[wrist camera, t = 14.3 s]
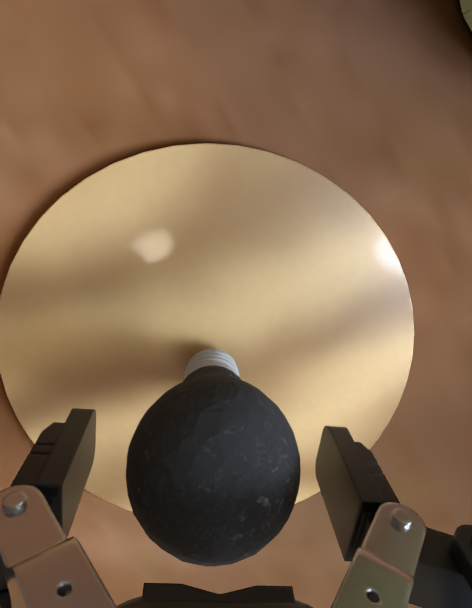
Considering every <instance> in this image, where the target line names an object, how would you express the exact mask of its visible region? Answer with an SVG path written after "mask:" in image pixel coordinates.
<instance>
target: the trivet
mask: <svg viewBox="0 0 472 608" xmlns="http://www.w3.org/2000/svg"><path fill="white" fill-rule="evenodd" d="M413 342H414V321H413V307H412V303H411V298H410V293H409V288H408V284H407V281H406V278H405V275H404V273H403V270H402V267H401V264H400V262H399V259H398V257H397V255H396V254H395V252H394V250H393V248H392V246H391V244H390V243H389V241H388V239H387V237H386V235H385V234H384V233H383V231H382V230H381V229H380V228H379V226H378V225H377V224H376V222H375V221H374V220H373V218H372V217H371V216H370V214H369V213H368V212H367V211H366V210H365V209H364V208H363V207H362V206H361V205H360V204H359V203H358V202H357V201H356V200H355V199H354V198H353V197H352V196H351V195H350V194H348V193H347V192H346V191H344V190H343V189H342V188H340V187H339V186H338V185H336V184H335V183H333V182H332V181H331V180H329V179H328V178H327V177H325V176H323V175H322V174H320V173H318V172H316V171H314V170H312V169H310V168H308V167H307V166H305V165H303V164H301V163H299V162H296V161H294V160H291V159H288V158H285V157H283V156H280V155H277V154H274V153H272V152H269V151H264V150H259V149H254V148H250V147H245V146H240V145H229V144H214V143H199V144H185V145H173V146H169V147H164V148H159V149H155V150H150V151H145V152H142V153H139V154H136V155H134V156H131V157H128V158H125V159H123V160H120V161H117V162H115V163H112V164H110V165H109V166H107V167H105V168H103V169H101V170H99V171H97V172H96V173H94V174H92V175H90V176H88V177H86V178H85V179H84V180H82V181H81V182H80V183H78V184H77V185H75V186H74V187H73V188H71V189H70V190H69V191H67V192H66V193H65V194H63V195H62V196H61V197H60V198H59V199H58V200H57V201H56V202H55V203H54V204H53V205H52V206H51V207H50V208H49V209H48V210H47V211H46V212H45V213H44V214H43V215H42V216H41V217H40V218H39V220H38V221H37V222H36V224H35V225H34V226H33V228H32V229H31V231H30V232H29V233H28V235H27V236H26V237H25V239H24V240H23V242H22V244H21V246H20V248H19V249H18V251H17V253H16V255H15V257H14V259H13V261H12V263H11V265H10V267H9V270H8V273H7V276H6V279H5V282H4V285H3V288H2V291H1V296H0V374H1V377H2V381H3V384H4V388H5V391H6V395H7V397H8V399H9V401H10V404H11V406H12V408H13V410H14V413H15V415H16V417H17V419H18V420H19V422H20V424H21V425H22V427H23V428H24V430H25V432H26V433H27V435H28V436H29V438H30V439H31V440H32V442H33V443H34V444H35V442H36V441H37V439H38V437H39V435H40V434H41V432H42V431H43V430H44V429H46V428H47V427H48V426H49V425H51V424H52V423H53V422H60V423H65V421H66V420H67V418H68V416H69V414H70V412H71V410H72V408H80V409H95V410H96V445H95V456H94V461H93V465H92V468H91V471H90V474H89V477H88V480H87V482H86V485H85V488H84V489H85V490H87V491H88V492H90V493H92V494H94V495H95V496H97V497H99V498H100V499H102V500H105V501H107V502H109V503H111V504H114V505H116V506H118V507H121V508H123V509H126V510H129V511H132V507H131V504H130V501H129V498H128V492H127V484H126V463H127V453H128V448H129V445H130V442H131V439H132V437H133V435H134V432H135V430H136V428H137V426H138V424H139V422H140V420H141V419H142V417H143V416H144V414H145V413H146V411H147V410H148V409H149V408H150V407H151V406H152V405H153V404H154V403H155V402H156V401H157V400H158V399H159V398H160V397H161V396H162V395H163V394H164V393H165V392H166V391H168V390H169V389H171V388H173V387H174V386H176V385H177V384H179V383H182V382H183V381H184V376H185V370H186V367H187V364H188V363H189V361H190V359H191V358H192V357H193V356H194V355H195V354H196V353H198V352H200V351H202V350H205V349H219V350H223V351H224V352H226V353H228V354H229V355H230V356H231V357H232V358H233V359H234V360H235V363H236V365H237V368H238V371H239V375H240V379H241V380H242V381H245V382H248V383H249V384H251V385H253V386H255V387H256V388H258V389H259V390H260V391H262V392H263V393H264V394H265V395H266V396H267V397H269V398H270V399H271V400H272V401H273V402H274V403H275V404H276V405H277V406H278V407H279V408H280V410H281V411H282V413H283V414H284V415H285V417H286V419H287V421H288V423H289V424H290V426H291V428H292V430H293V432H294V435H295V439H296V442H297V446H298V450H299V454H300V469H301V472H300V475H301V476H300V484H299V492H298V495H297V498H296V502H295V503H298V502H300V501H302V500H304V499H306V498H308V497H310V496H312V495H313V494H315V493H317V492H319V491H320V488H319V485H318V482H317V479H316V474H315V462H316V457H317V453H318V449H319V444H320V440H321V436H322V431H323V428H324V427H325V426H339V427H347V429H348V430H349V432H350V434H351V436H352V438H353V440H354V442H361V443H362V444H363V445H364V446H365V447H366V448H367V449H370V448H371V447H372V445H373V444H374V443H375V442H376V440H377V439H378V438H379V436H380V435H381V433H382V432H383V430H384V429H385V427H386V426H387V424H388V423H389V421H390V419H391V417H392V415H393V413H394V411H395V410H396V408H397V406H398V404H399V402H400V399H401V396H402V393H403V391H404V388H405V385H406V382H407V379H408V375H409V370H410V366H411V361H412V355H413ZM132 512H133V511H132Z"/></svg>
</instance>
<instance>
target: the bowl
mask: <svg viewBox="0 0 472 608" xmlns="http://www.w3.org/2000/svg"><path fill="white" fill-rule="evenodd" d="M460 5H461V10H462V13H464V14H463V17H464V19H465V20H466V22H467V24H468V26H469V28H470V29H471V31H472V0H460Z"/></svg>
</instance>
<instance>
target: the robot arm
mask: <svg viewBox="0 0 472 608" xmlns="http://www.w3.org/2000/svg"><path fill="white" fill-rule="evenodd" d="M95 445H96V410H95V409H80V408H72V410H71V412H70V414H69V416H68V418H67V420H66V421H65V423H60V422H53V423H52V424H51V425H49V426H48V427H47V428H46V429H44V430H43V431H42V432H41V434H40V435H39V437H38V439H37V441H36V442H35V445H34V446H33V448H32V449H31V451H30V454H29V455H28V456H27V458H26V460H25V462H24V463H23V465H22V467H21V469H20V470H19V472H18V474H17V476H16V477H15V479H14V481H13V482H12V484H11V486H10V487H8V488H6V489H4V490H2V491H0V608H313V607H311V606H309V605H307V604H304V603H302V602H300V601H297V600H295V599H294V594H293V589H292V586H253V587H249V588H245V589H241V590H237V591H233V592H228V593H224V594H216V593H212V592H209V591H205V590H202V589H198V588H195V587H191V586H188V585H184V584H169V583H144V587H143V595H142V596H141V597H137V598H134V599H131V600H128V601H126V602H124V603H122V604H120V605H118V606H116V605H115V603H114V601H113V600H112V598H111V596H110V594H109V593H108V591H107V589H106V587H105V586H104V584H103V582H102V580H101V579H100V577H99V575H98V574H97V572H96V570H95V568H94V567H93V565H92V563H91V561H90V560H89V558H88V556H87V554H86V553H85V551H84V549H83V547H82V546H81V544H80V542H79V541H78V539H77V538H76V537H71V538H69V539H67V537H68V534H69V531H70V528H71V525H72V522H73V519H74V517H75V514H76V511H77V508H78V505H79V502H80V499H81V497H82V494H83V491H84V488H85V485H86V482H87V480H88V477H89V474H90V471H91V468H92V465H93V461H94V456H95ZM315 474H316V479H317V482H318V485H319V488H320V491H321V494H322V497H323V500H324V503H325V505H326V508H327V511H328V514H329V517H330V520H331V523H332V526H333V529H334V532H335V534H336V537H337V540H338V543H339V546H340V549H341V552H342V555H343V558H344V561H352V562H351V564H350V566H349V568H348V571H347V573H346V575H345V577H344V579H343V581H342V584H341V586H340V588H339V590H338V592H337V595H336V597H335V599H334V601H333V603H332V606H331V608H407V605H408V603H411V604H414V605H416V606H419V607H422V608H472V525H461V526H459V527H458V528H457V529H456V531H455V534H454V536H453V535H449V534H446V533H443V532H439V531H436V530H433V529H430V528H427V527H426V526H425V523H424V522H423V520H422V519H421V517H420V516H419V515H418V514H417V513H416V512H415V511H413V510H412V509H410V508H409V507H407V506H405V505H402V504H400V502H399V501H398V499H397V497H396V495H395V493H394V492H393V490H392V488H391V486H390V484H389V483H388V481H387V479H386V477H385V475H384V474H383V472H382V470H381V468H380V466H379V465H378V463H377V461H376V459H375V458H374V456H373V454H372V452H371V451H370V450H369V449H367V448H366V447H365V446H364V445H363V444H362V443H361V442H354V440H353V438H352V436H351V434H350V432H349V430H348V429H347V427H339V426H325V427H324V428H323V431H322V436H321V440H320V444H319V449H318V453H317V457H316V462H315Z"/></svg>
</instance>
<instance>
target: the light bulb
mask: <svg viewBox="0 0 472 608" xmlns="http://www.w3.org/2000/svg"><path fill="white" fill-rule="evenodd" d="M300 472H301V469H300V454H299V450H298V446H297V442H296V439H295V435H294V432H293V430H292V428H291V426H290V424H289V423H288V421H287V419H286V417H285V415H284V414H283V413H282V411H281V410H280V408H279V407H278V406H277V405H276V404H275V403H274V402H273V401H272V400H271V399H270V398H269V397H267V396H266V395H265V394H264V393H263V392H262V391H260V390H259V389H258V388H256V387H255V386H253V385H251V384H249V383H248V382H245V381H242V380H241V379H240V375H239V371H238V368H237V365H236V363H235V360H234V359H233V358H232V357H231V356H230V355H229V354H228V353H226V352H224V351H223V350H219V349H205V350H202V351H200V352H198V353H196V354H195V355H194V356H193V357H192V358H191V359H190V361H189V363H188V364H187V367H186V370H185V376H184V381H183V382H182V383H179V384H177V385H176V386H174V387H173V388H171V389H169V390H168V391H166V392H165V393H164V394H163V395H162V396H161V397H160V398H159V399H158V400H157V401H156V402H155V403H154V404H153V405H152V406H151V407H150V408H149V409H148V410H147V411H146V413H145V414H144V416H143V417H142V419H141V420H140V422H139V424H138V426H137V428H136V430H135V432H134V435H133V437H132V439H131V442H130V445H129V448H128V453H127V463H126V484H127V492H128V498H129V501H130V504H131V507H132V511H133V513H134V515H135V517H136V518H137V520H138V521H139V523H140V525H141V526H142V528H143V529H144V531H145V533H146V534H147V536H148V537H149V538H150V539H151V540H152V541H153V542H155V543H156V544H157V545H158V546H159V547H160V548H161V549H163V550H164V551H166V552H168V553H169V554H171V555H173V556H174V557H176V558H178V559H179V560H181V561H183V562H188V563H192V564H197V565H202V566H220V565H228V564H233V563H235V562H238V561H240V560H243V559H245V558H248V557H250V556H253V555H255V554H256V553H257V552H258V551H260V550H261V549H262V548H263V547H264V546H266V545H267V544H268V543H269V542H270V541H271V540H272V539H273V538H274V537H275V536H277V535H278V534H279V532H280V531H281V529H282V528H283V526H284V525H285V523H286V522H287V520H288V518H289V516H290V514H291V512H292V509H293V507H294V504H295V502H296V498H297V495H298V492H299V484H300V476H301V475H300Z"/></svg>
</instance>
